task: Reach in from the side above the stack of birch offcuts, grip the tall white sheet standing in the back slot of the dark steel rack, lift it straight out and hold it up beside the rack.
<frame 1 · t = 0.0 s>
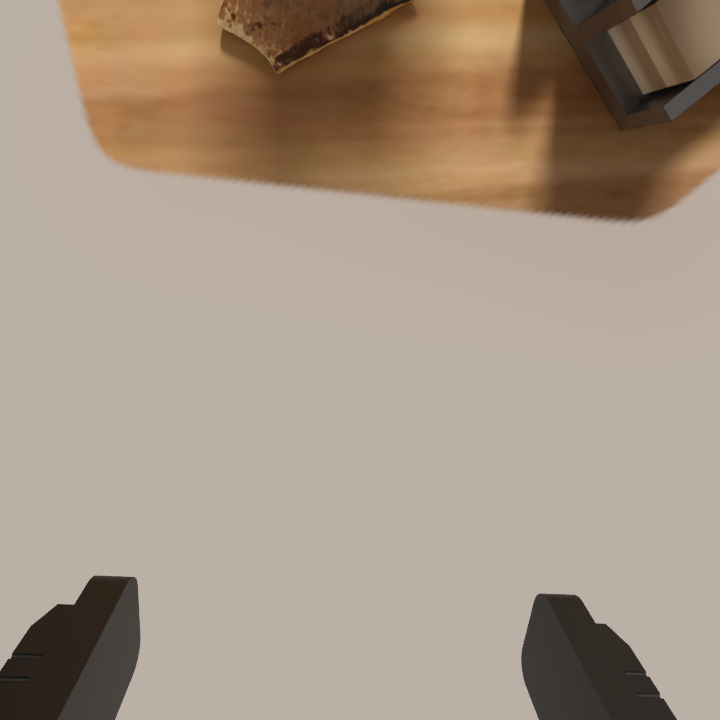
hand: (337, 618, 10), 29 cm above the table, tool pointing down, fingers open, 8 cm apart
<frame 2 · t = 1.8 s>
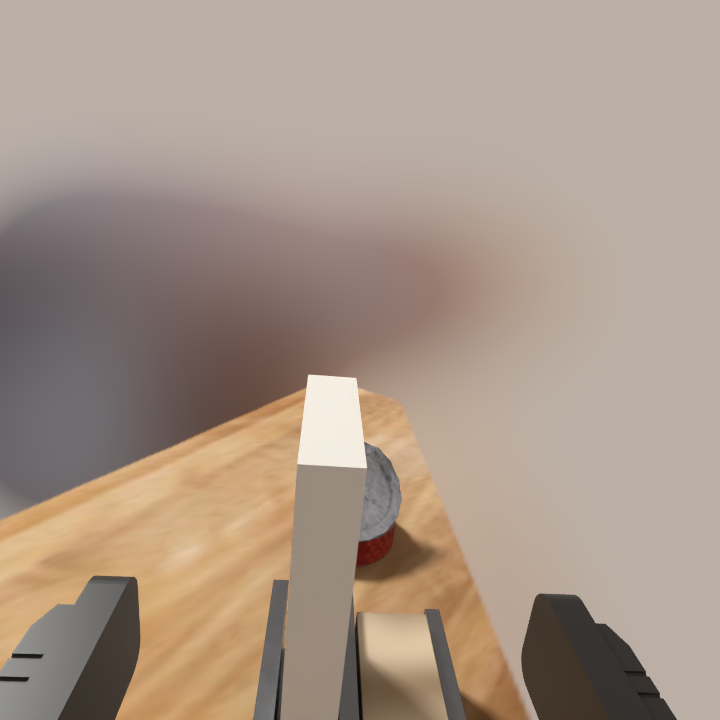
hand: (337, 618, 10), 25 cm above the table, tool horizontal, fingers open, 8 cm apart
canned food: (344, 536, 52), on the table
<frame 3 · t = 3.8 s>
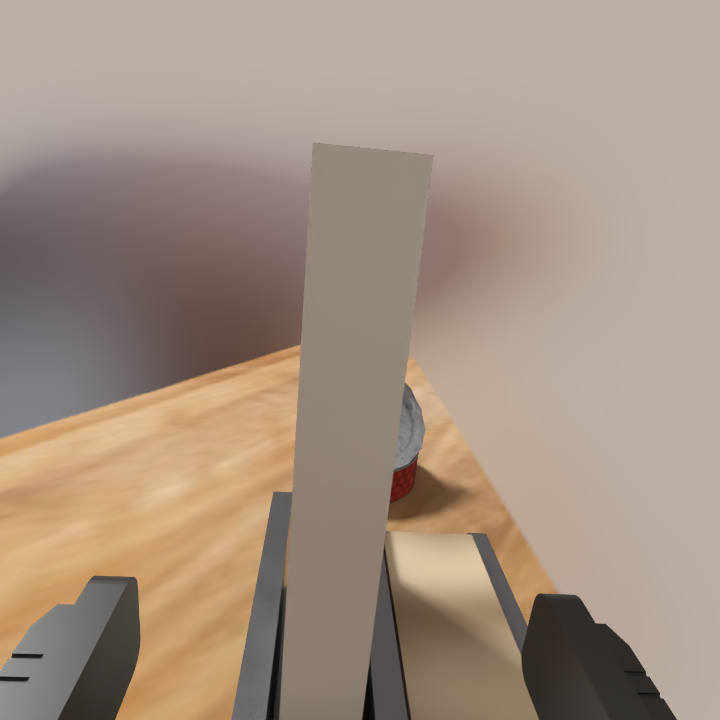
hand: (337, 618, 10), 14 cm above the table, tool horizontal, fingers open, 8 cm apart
canned food: (357, 476, 44), on the table
offcut top: (445, 675, 21), point 4 cm above the table, touching offcut bottom
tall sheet: (313, 718, 22), point 1 cm above the table, touching rack
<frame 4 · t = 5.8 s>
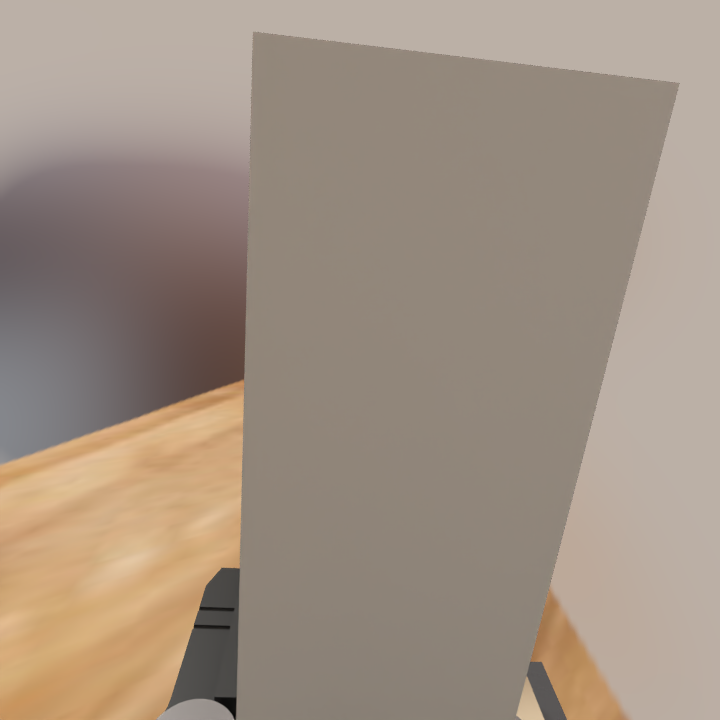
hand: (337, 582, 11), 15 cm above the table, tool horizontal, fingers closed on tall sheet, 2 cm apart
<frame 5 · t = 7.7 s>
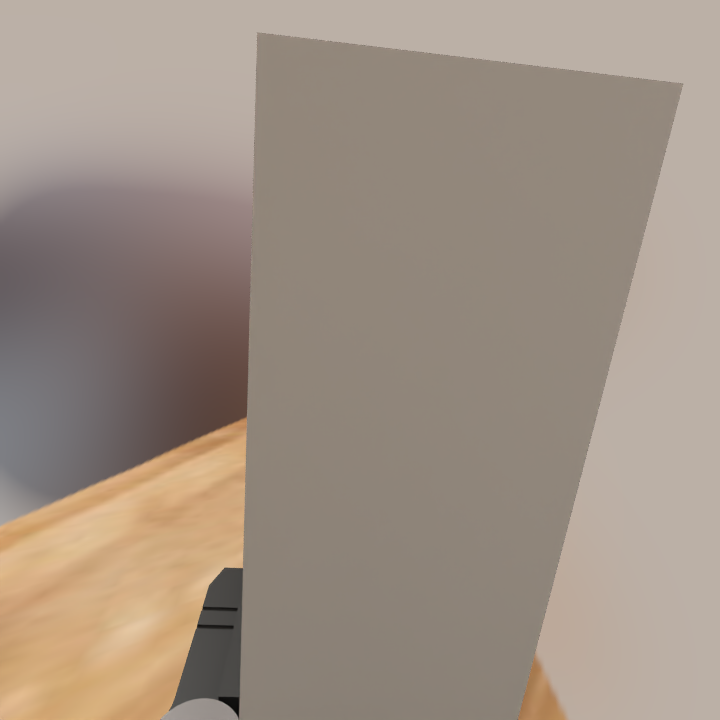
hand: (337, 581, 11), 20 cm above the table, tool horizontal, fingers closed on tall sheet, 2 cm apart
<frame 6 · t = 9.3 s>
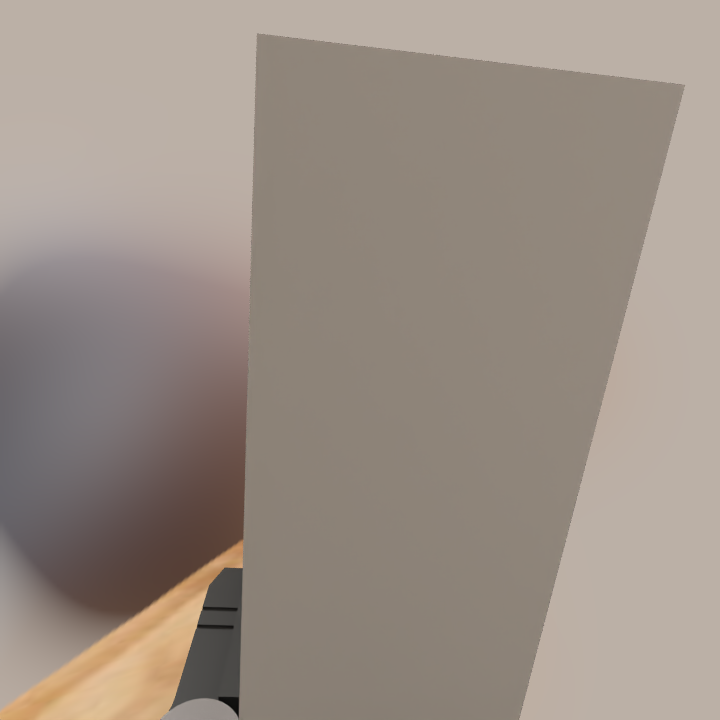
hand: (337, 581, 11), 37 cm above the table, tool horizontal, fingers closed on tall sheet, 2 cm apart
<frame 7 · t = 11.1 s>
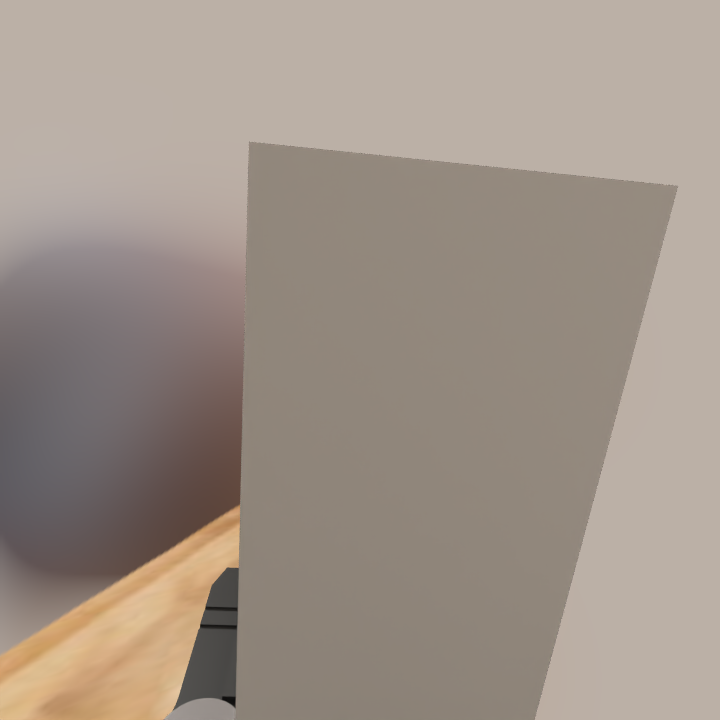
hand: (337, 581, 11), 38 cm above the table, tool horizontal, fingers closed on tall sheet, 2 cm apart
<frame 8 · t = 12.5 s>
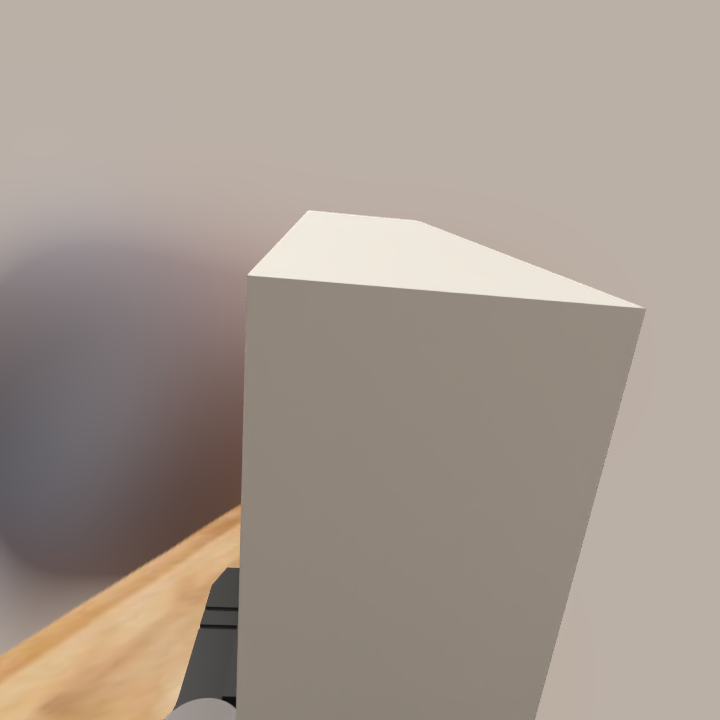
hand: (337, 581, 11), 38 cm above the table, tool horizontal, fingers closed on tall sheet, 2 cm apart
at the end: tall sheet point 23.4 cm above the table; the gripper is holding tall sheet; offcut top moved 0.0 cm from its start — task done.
